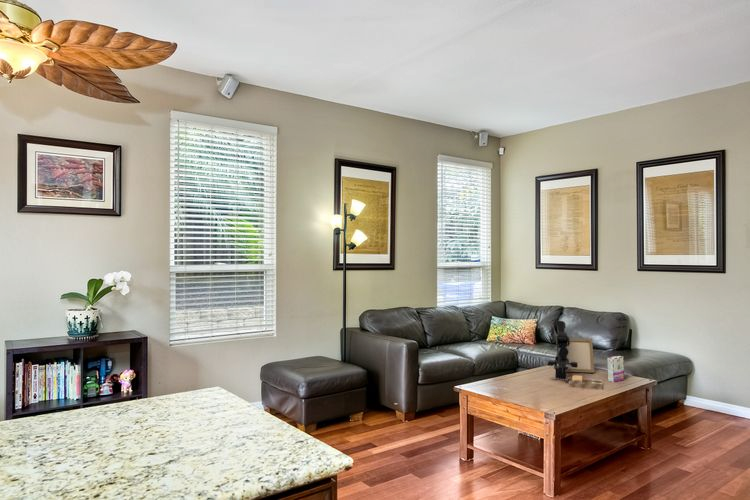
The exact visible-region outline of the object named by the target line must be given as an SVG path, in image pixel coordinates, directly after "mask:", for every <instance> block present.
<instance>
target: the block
mask: <svg viewBox="0 0 750 500" xmlns="http://www.w3.org/2000/svg"><path fill="white" fill-rule="evenodd" d="M582 379H583V375H577V374H573V375H572V381H573V380H580V381H581V382H582Z"/></svg>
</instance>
